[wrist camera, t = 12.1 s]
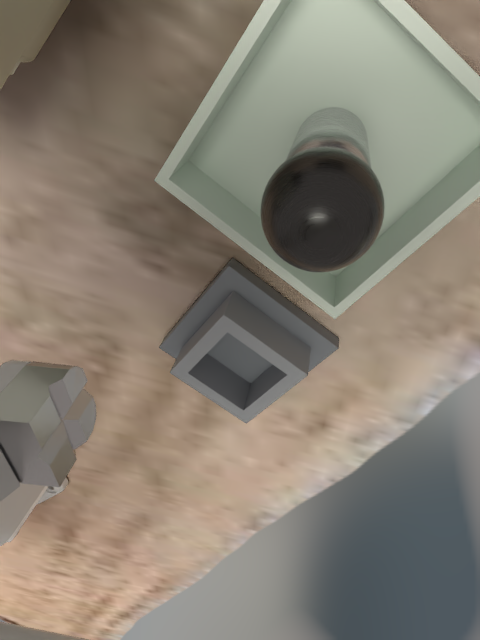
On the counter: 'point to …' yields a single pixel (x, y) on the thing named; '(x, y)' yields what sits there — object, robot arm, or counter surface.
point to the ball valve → (25, 30)
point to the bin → (344, 92)
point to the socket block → (245, 343)
